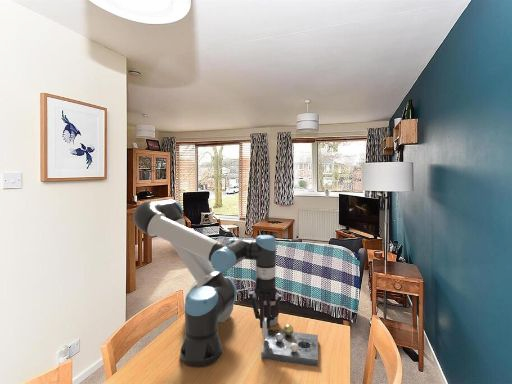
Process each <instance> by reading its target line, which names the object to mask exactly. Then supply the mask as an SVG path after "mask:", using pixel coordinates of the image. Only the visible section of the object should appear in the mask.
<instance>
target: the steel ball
mask: <svg viewBox="0 0 512 384" xmlns="http://www.w3.org/2000/svg"><path fill="white" fill-rule="evenodd" d="M275 340H276V341H277V342H282V341H283V335H282V334H281V333H277V334H276V335H275Z"/></svg>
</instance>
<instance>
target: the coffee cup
mask: <svg viewBox="0 0 512 384" xmlns="http://www.w3.org/2000/svg"><path fill="white" fill-rule="evenodd" d="M276 290H277V293H278V294H282V292H281V291H279V290H278V288H276ZM275 298H276V296H274V297H273V299H272V300H271V315H272V314H273V310H274V306H275V302H276V299H275ZM280 305H281V301H280V302H279V304H278V308H277V311H276V315H275V319H274V320H271V321H270V327H274V326H277V324H278V323H279V315H280ZM264 318H267V304H266V301H264Z"/></svg>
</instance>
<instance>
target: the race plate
mask: <svg viewBox="0 0 512 384" xmlns="http://www.w3.org/2000/svg"><path fill="white" fill-rule="evenodd" d="M277 333H281V334H282V335H283V341H282V342H277V341H276V340H275V335H276V334H277ZM318 337H319V335H318V334H312V333H311V334H310V333H303V332H295V331H293V334H292V335H290V336H288V335H286V334H285V333H284V331H283V330H279V329H273V328H272V329H271V328H270V329H268V335H267V338H264V342H263V345H262V349H261V352H260V359H261V360H265V361H266V360H269V361H274V362H279V363H280V362H282V363H288V364H296V365H303V366H309V367H316V368H318V367H319V365H318V364H319V362H318V361H319V344H318V343H319V342H318V341H319V338H318ZM292 343H296V344H297V345H298V350H297V352H292V351H291V350H290V345H291V344H292Z"/></svg>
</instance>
